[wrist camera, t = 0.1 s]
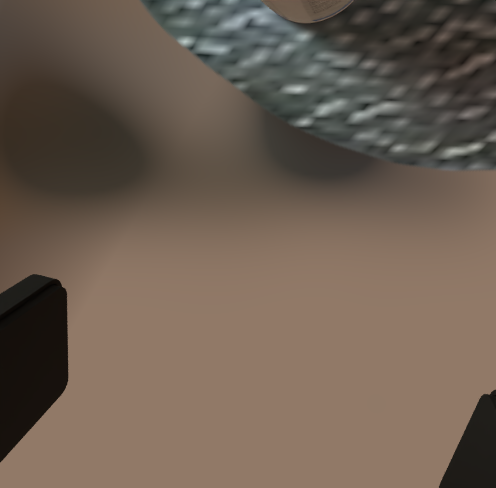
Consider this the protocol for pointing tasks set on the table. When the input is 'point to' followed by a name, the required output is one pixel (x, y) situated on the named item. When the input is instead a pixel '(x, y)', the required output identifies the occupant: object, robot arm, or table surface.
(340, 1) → the supplement tub
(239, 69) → the table surface
